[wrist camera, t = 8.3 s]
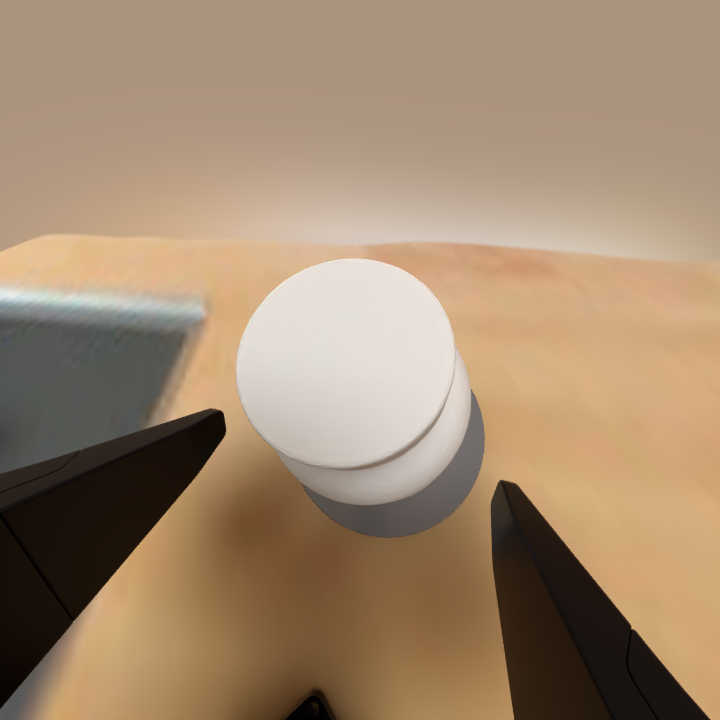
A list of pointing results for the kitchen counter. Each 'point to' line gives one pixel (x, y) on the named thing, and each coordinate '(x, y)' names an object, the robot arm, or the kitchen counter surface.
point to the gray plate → (417, 493)
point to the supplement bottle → (355, 381)
